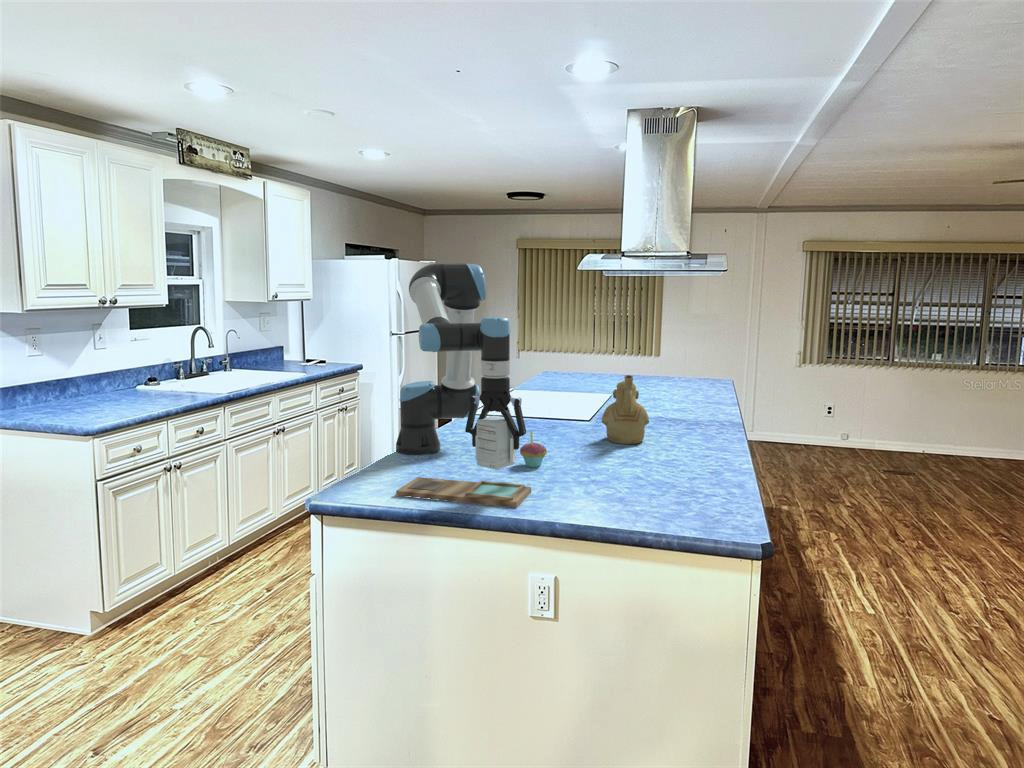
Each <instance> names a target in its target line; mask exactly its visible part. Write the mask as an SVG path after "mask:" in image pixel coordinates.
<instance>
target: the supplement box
mask: <svg viewBox="0 0 1024 768" xmlns="http://www.w3.org/2000/svg"><path fill="white" fill-rule="evenodd" d="M513 420H514V418H513ZM514 421H515V420H514ZM476 422H477V460H476V466H477V467H478V466H479V467H481V468H487V469H491V470H496V471H499V470H500V469H504V468H507V467H510V466H513V465H515V461H514V462H513V463H512V462H510V438H511V437H513V435H512V433H511V431H510V429H509V427H508V425H507V423H506V421H505V419H504V416H499V415H491V416H486V418H484V419H476Z"/></svg>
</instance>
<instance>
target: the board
mask: <svg viewBox="0 0 1024 768" xmlns="http://www.w3.org/2000/svg"><path fill="white" fill-rule="evenodd" d="M531 493H532V487H531V486H525V484H523V483H512V482H504V481H503V482H501V481H500V482H499V481H490V480H489V481H488V480H480V481H467V480H466V481H465V480H456V479H455V480H454V479H444V478H432V477H431V478H430V477H423V476H422V477H420V476H417V477H415V478H414V479H412V480H411V481H409V482H407V483H406V484H404V485H403V486H401V487H400V488H398V489H397V490H395V496H396V495H398V496H397V497H400V496H411V497H420V498H419V499H421V498H430V499H429V500H431V499H439V500H438V501H441V500H447V501H446V502H452V501H457V502H456V503H462V502H465V503H464V504H473V505H486V506H493V505H495V506H496V507H503V508H504V507H505V508H515V509H516V508H518V507H519V506H520V505H521V504H522V503H523V502H524V501H525V500H526V498H528V496H530V494H531ZM474 503H475V504H474ZM495 506H494V507H495Z"/></svg>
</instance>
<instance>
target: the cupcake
mask: <svg viewBox="0 0 1024 768" xmlns="http://www.w3.org/2000/svg"><path fill="white" fill-rule="evenodd" d="M529 435H530V442H529V443H525V444H523V445H522V446H521V448H519V454H520V455H521V456H522V457H523V460H524V464H525V466H526V467H528V466H529V468H539V467H541V466H542V463H543V460H544V458H545V456H546V455H547V454H548V452H547V448H546V447H545V446H544V445H542V444H541V443H538V442H534V437H533V436H534V435H533V431H532V429H530V434H529ZM538 466H539V467H538Z"/></svg>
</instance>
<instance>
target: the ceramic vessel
mask: <svg viewBox="0 0 1024 768" xmlns="http://www.w3.org/2000/svg"><path fill="white" fill-rule="evenodd" d="M633 381H634V376H633V375H630V374H627V375H624V380H621V381H619V383H617V384H616V386H615V387H616V389H613V391H612V396H613V399H615V401H614V402H613V403H611V404H609V405H608V406H607V407H606V408H605V410H604V412H603V413H602V416H601V423H602V424H603V425H605V429H606V437H607V439H608V440H609V442H612V443H614V444H621V445H634V444H635V445H636V444H640V443H641V442H643V440H644V439H645V433H646V431H645V430H646V429H645V427H646V426H647V425H649V423H650V420H649V415H648V413H647V412H648V411H647V410H646V408H645V407H644V406H643V405H641V404H640V403H638V402H637V400H638V399H639V395H640V393H639V390H637V386H636V384H635V383H634V382H633Z"/></svg>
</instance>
